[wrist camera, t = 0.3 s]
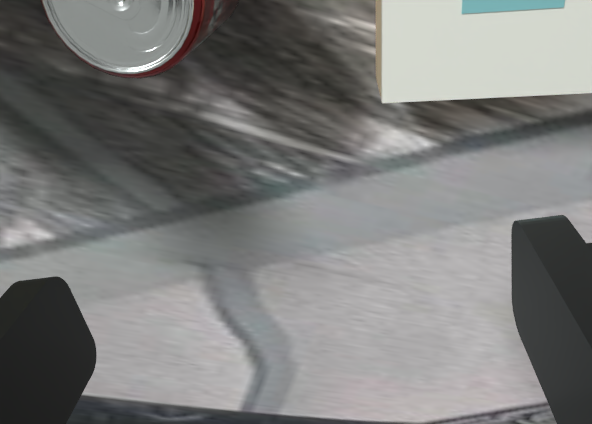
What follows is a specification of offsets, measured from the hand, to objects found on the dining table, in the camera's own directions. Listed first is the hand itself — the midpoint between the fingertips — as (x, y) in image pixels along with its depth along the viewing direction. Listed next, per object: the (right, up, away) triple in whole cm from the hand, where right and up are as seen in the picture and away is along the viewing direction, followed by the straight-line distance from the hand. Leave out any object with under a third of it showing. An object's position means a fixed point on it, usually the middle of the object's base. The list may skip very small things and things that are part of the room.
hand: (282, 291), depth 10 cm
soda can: (-6, +16, +24) cm, 30 cm away
